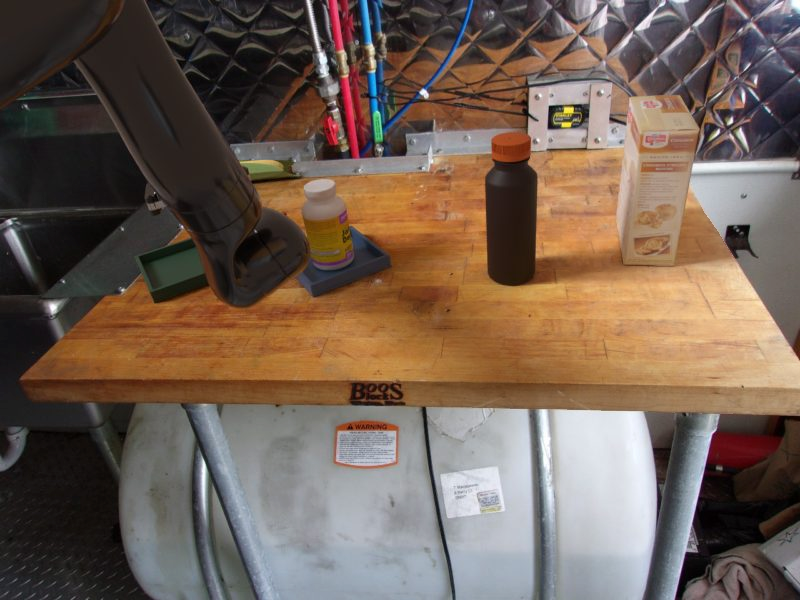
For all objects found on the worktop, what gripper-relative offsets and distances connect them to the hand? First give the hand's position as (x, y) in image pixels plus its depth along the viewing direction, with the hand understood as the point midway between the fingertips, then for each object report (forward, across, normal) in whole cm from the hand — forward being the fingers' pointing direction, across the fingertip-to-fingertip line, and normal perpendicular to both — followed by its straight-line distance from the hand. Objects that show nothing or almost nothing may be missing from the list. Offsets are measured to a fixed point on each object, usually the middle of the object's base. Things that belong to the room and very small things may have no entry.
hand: (184, 171), depth 83 cm
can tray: (+6, +2, +18) cm, 19 cm away
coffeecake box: (-34, -56, +18) cm, 68 cm away
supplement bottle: (-9, -16, +17) cm, 26 cm away
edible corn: (+35, -18, +18) cm, 43 cm away
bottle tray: (-9, -16, +18) cm, 26 cm away
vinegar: (-29, -35, +18) cm, 49 cm away
